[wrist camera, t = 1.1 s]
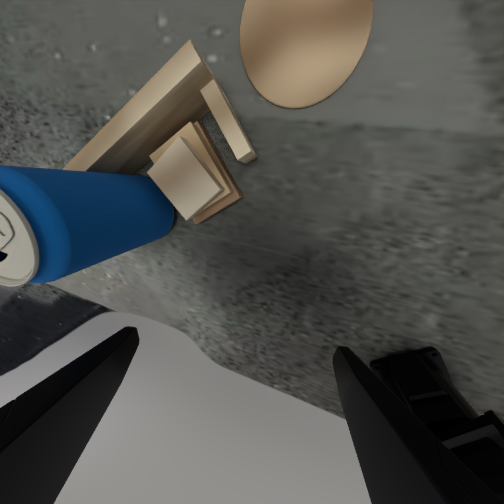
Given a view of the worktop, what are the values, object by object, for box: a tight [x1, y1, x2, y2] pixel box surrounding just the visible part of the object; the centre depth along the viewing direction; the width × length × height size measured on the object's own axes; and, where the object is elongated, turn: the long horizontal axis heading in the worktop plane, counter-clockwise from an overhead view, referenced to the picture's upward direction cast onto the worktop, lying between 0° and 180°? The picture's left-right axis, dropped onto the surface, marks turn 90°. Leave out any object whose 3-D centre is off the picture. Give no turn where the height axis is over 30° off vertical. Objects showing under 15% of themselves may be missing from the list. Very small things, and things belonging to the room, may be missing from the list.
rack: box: [62, 40, 257, 175], centre depth 17 cm, size 6×18×5 cm, turn 120°
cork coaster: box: [240, 0, 373, 109], centre depth 14 cm, size 9×9×1 cm
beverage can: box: [0, 165, 174, 286], centre depth 15 cm, size 6×6×12 cm
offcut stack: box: [147, 121, 243, 225], centre depth 17 cm, size 7×5×4 cm
